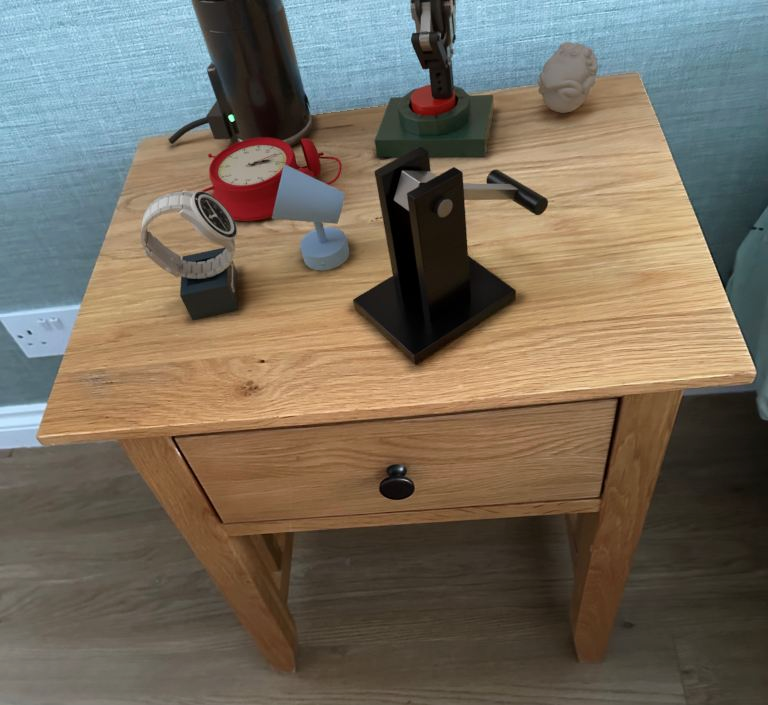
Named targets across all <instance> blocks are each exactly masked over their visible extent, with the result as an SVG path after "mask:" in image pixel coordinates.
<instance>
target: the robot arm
mask: <svg viewBox="0 0 768 705" xmlns="http://www.w3.org/2000/svg"><path fill="white" fill-rule="evenodd" d="M190 2H191V5H192V8H193V11H194V15H195V17H196V20H197V23H198V25H199V28H200V31H201V32H200V33H201V34H202V38H203V41H204V43H205V44H204V45H205V48H206V49H207V53H208V55H209V58H210V60H211V62H210V64H209V65H208V66H207V68H206V74H207V76H208V80H209V82H210V85H211V88H212V91H213V95H214V97H215V99H216V100H215V102H214V103H213V105H212V106H211V108H210V110H209V111H208V113H207V114H206V116H205V117H202V118H199V119H196V120H193V121H191V122H190V123H188V124H185V125H184V126H182V127H181V128H179V129H178V130H177V131H176V132H175V133H173V135H171V136H170V137H169V138H168V140H167V141H168V143H170V144H171V145H173V144H174V143H176V142H177V141H178V140H179V139H180V138H182V137H183V136H184V135H186V134H187V133H188V132H190V131H192V130H194V129H196V128H198V127H201V126H204V125H207V124H208V125H209V129H210V131H211V134H212V136H213V139H214V140H230V143H231V145H233V144H235V143H238V142H241V141H244V140H248V139H253V138H265V137H266V138H275V139H279V140H282V141H284V142H286V143H287V144H288V145H289V146H290V147H292V146H294V145H297V144H298V143H301V141H300V139H305V138H307V136H308V135H309V134H310V132H311V131H312V130H313V125H314V123H313V119H312V118H313V117H312V113H311V111H310V108H311V105H310V102H309V97H308V96H307V94H306V92H305V88H304V84H303V80H302V75H301V72H300V67H299V63H298V59H297V55H296V50H295V47H294V43H293V39H292V34H291V30H290V26H289V21H288V17H287V13H286V10H285V5H284V1H283V0H190ZM409 4H410V14H411V19H412V20H413V21H414V24H415V31H416V32H412V33H411V37H410V44H411V45H412V48H413V50H414V53H415V55H416V57H417V60H418V62H419V64H420V66H421V69H422V70H428V74H429V75H428V76H429V83H430V84H429V85H431V93H432V97H433V98H434V99H449V98H451V97H452V94H453V90H454V86H455V82H454V72H453V56H454V54H455V49H454V44H455V42H456V40H457V35H456V30H457V17H456V16H457V15H456V9H457V0H410V2H409Z"/></svg>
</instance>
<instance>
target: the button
mask: <svg viewBox="0 0 768 705" xmlns="http://www.w3.org/2000/svg"><path fill="white" fill-rule="evenodd" d="M418 88H419V89H417V88H416V89H417V90H416V91H414V92H413V94H412V96H411V104H412V112H414V113H417V114H420V115H439V114H442V113H445V112H449V111H450V110H451V109H452V108H454V107H455V106H456V100H455V91H454V90H453V94H452V97H451V98H449V99H434V98H433V97H432V93H431V84H426V85H423V86H421V88H420V87H418Z"/></svg>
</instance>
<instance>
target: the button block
mask: <svg viewBox="0 0 768 705" xmlns="http://www.w3.org/2000/svg"><path fill="white" fill-rule="evenodd" d="M421 87H422V86H421ZM421 87H417V88H414V89H412V90H410V91H409V92H408V93H406V94H404V95H403V96H401V97H400V96H397V97H396V96H395V97H393V96H392V97H390V98H389V101H388V103H387V106H386V108H385V111H384V114H383V117H382V120H381V122H380V124H379V127H378V130H377V133H376V135H375V138H374V145H375V151H376V157H377V158H399V157H401V156H403V155H405V154H407V153H408V152H410V151H412V150H414V149H416V148H418V147H420V146H421V147H423V148H425V149H426V150H428V151H429V158H485V157H486V154H487V150H488V149H487V148H488V143H489V138H490V133H491V127H492V123H493V119H494V118H493V117H494V112H495V111H494V109H495V107H494V95H493V94H476V95H475V94H473V95H469V94H468V93H467V91H466V90H464V88H462V87H459V86H456V85H454V91H455V100H456V106H455V107H454V108H452V109H451V110H450V111H449V112H445V113H442V114H439V115H420V114H417V113H414V112H412V104H411V96H412V94H413V92H414V91H416V90H417V89H419V88H421Z"/></svg>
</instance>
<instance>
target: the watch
mask: <svg viewBox="0 0 768 705" xmlns="http://www.w3.org/2000/svg"><path fill="white" fill-rule="evenodd" d="M172 212H178V214H179V216H181V218H184V219H185V220H187V221H188V222H189V223H190V224H191V226H192V227H193V229H194V230H195V232H197V233H198V234H199V235H200V236H201V237H202V238H203V239H205V241H207V242H209V243H210V244H212V245H217V246H222V247H220V248H216V249H215V248H214V249H212V250H211V249H210V250H207V251H206V250H205V251H201V252H197V253H191V254H188V255H182V257H181V255H180V254H178V253H176V252H175V251H173V250H171V249H170V248H168V247H167V246H165V244H163V243H162V242H161V241H160V239H158V238H157V237H156V236H154V235H153V233H152V232H151V231H149V230H148V227H149V225H151V223H152V222H153V221H154V219H157V218H159V217H160V216H162V215H165V214H168V213H172ZM142 216H143V217H142V220H141V221H142V222H141V230H140V243H141V245H142V247H143V248H142V249H143V250H144V254H145V255H146V256H147V257H148V258H149V259H150V260H151V261H152V262H154V264H155V265H157V266H158V267H159V268H161V269H162V270H164V271H165V272H167V273H168V274H170V275H172V276H174V277H176V278H179V277H180V291H179V297H180V299H181V301H182V303H183V305H184V306H185V309H186V310H187V313H188V315H189V317H190V319H191V321H193V320H198V319H203V318H208V317H211V316H216V315H221V314H227V313H230V312H236V311H238V310H239V307H238V306H239V305H238V304H239V302H238V271H237V268H236V265H235V263H234V257H235V253H236V241H235V240H236V237H237V234H238V228H237V225H236V222H235V220H234V219H233V218H232V216H231V214H230V213H229V212H228V210H227V209H226V208H225V207H224V205H223V204H222V203H221V202H220V201H218V200H217V199H216V198H215V197H213V196H212V194H210V193H208V192H203V191H202V190H197V191H191V190H185V189H184V190H182V191H175V192H170V193H166V194H164V195H162V196H159V197H158V198H156V199H154V200H153V201H152V202H151V203H150V204H149V205H148V206H147V208H146V210H145V211H144V213H143V215H142Z"/></svg>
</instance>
